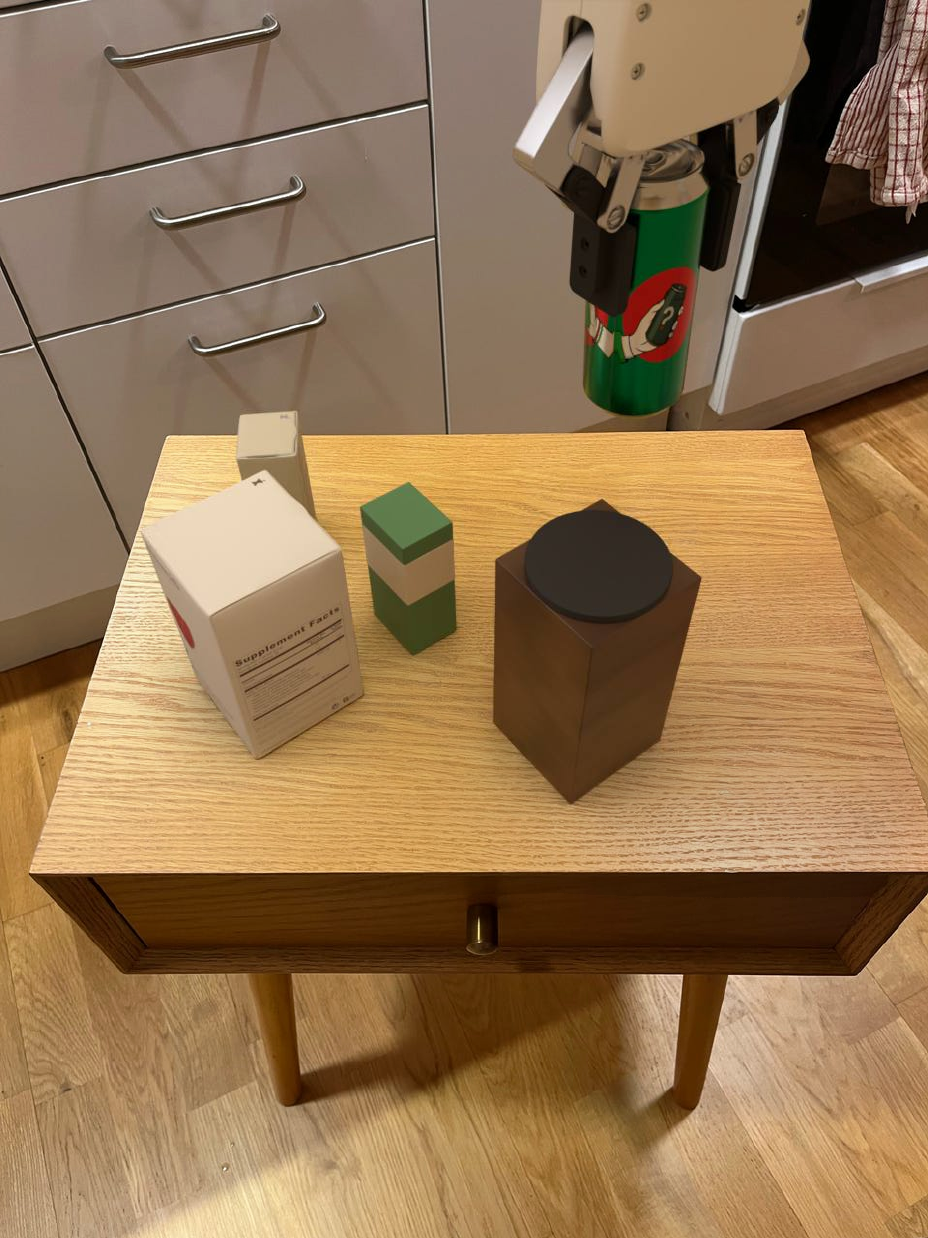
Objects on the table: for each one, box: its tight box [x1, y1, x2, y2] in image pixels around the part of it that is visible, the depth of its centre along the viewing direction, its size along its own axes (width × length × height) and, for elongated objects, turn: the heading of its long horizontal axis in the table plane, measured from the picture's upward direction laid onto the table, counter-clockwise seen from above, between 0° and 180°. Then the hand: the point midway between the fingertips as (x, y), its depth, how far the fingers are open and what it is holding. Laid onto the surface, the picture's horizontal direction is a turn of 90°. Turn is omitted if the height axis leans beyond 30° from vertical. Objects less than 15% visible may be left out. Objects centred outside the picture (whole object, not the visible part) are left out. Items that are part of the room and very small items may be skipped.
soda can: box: [582, 138, 711, 420], centre depth 44 cm, size 5×5×12 cm
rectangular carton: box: [139, 470, 365, 760], centre depth 62 cm, size 9×9×15 cm
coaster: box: [524, 509, 673, 623], centre depth 52 cm, size 8×8×1 cm
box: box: [235, 410, 318, 523], centre depth 73 cm, size 5×4×11 cm
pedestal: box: [492, 498, 703, 805], centre depth 59 cm, size 8×8×16 cm
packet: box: [359, 481, 458, 656], centre depth 67 cm, size 11×5×4 cm
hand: (647, 275), depth 43 cm, fingers closed on soda can, 5 cm apart
